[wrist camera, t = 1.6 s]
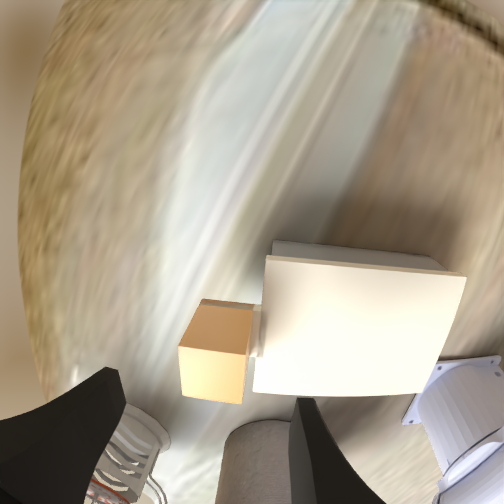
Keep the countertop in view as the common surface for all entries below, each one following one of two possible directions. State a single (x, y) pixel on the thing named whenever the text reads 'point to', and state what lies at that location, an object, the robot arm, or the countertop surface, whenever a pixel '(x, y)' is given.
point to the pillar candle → (256, 465)
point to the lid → (323, 332)
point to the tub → (354, 255)
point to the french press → (130, 458)
